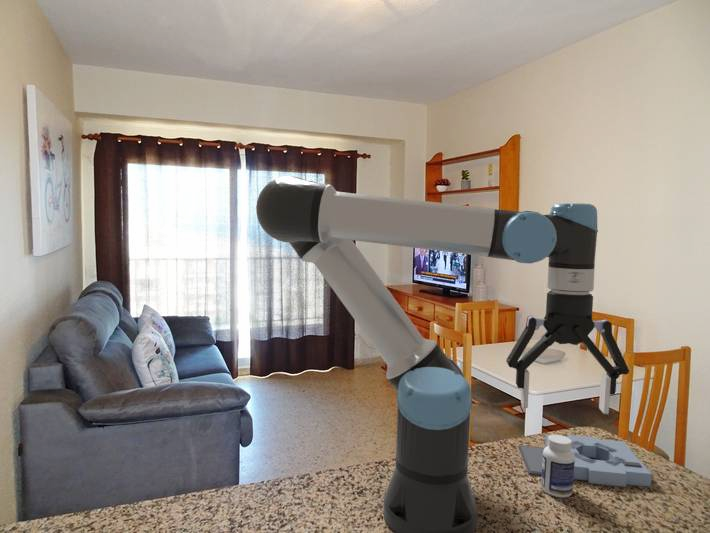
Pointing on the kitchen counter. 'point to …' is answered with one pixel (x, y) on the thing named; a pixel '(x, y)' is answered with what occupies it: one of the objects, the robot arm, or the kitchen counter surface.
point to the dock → (607, 462)
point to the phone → (532, 459)
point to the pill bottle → (558, 467)
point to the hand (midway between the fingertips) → (563, 408)
